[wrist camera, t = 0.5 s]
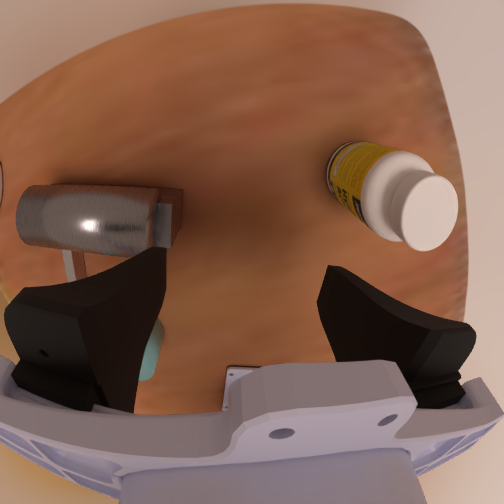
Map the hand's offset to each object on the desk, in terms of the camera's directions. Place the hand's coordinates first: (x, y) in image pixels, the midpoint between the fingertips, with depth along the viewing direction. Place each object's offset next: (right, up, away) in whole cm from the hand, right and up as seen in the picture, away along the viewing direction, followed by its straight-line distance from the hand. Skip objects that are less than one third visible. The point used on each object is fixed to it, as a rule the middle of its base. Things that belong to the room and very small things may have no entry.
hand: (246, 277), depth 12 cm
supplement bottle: (+8, +7, +8) cm, 14 cm away
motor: (-11, +2, +9) cm, 15 cm away
